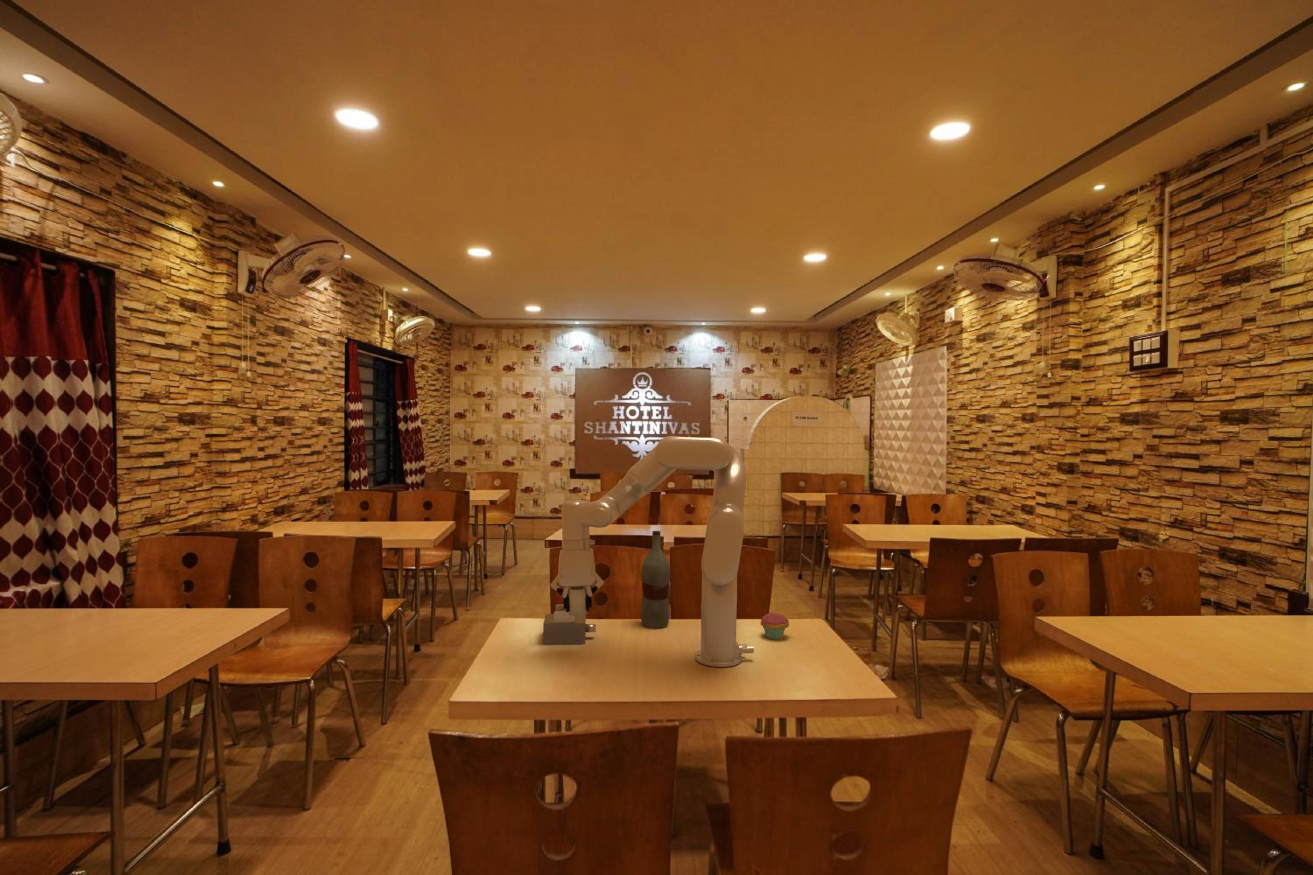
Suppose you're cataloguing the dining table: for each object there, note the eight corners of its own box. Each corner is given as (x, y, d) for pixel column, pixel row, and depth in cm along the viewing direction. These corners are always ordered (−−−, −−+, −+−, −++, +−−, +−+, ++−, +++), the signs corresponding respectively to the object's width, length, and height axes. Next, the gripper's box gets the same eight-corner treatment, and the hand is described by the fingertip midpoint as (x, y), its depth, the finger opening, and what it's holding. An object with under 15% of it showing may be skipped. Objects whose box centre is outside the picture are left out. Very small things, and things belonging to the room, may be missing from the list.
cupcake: (755, 633, 193) (756, 594, 193) (780, 631, 196) (780, 593, 196) (768, 642, 185) (769, 601, 185) (794, 640, 187) (794, 600, 187)
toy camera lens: (587, 610, 177) (586, 582, 177) (586, 615, 172) (586, 587, 172) (569, 611, 176) (568, 583, 176) (568, 616, 171) (567, 587, 171)
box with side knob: (595, 630, 194) (595, 601, 194) (595, 643, 182) (596, 612, 182) (546, 631, 192) (546, 602, 192) (543, 644, 180) (543, 613, 180)
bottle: (637, 628, 197) (638, 532, 197) (644, 619, 206) (645, 528, 206) (666, 630, 195) (667, 534, 195) (672, 622, 204) (673, 529, 204)
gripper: (606, 541, 179) (608, 605, 179) (546, 544, 177) (547, 608, 177) (607, 545, 171) (609, 612, 171) (544, 548, 170) (545, 616, 169)
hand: (577, 609), depth 174 cm, fingers closed on toy camera lens, 5 cm apart
